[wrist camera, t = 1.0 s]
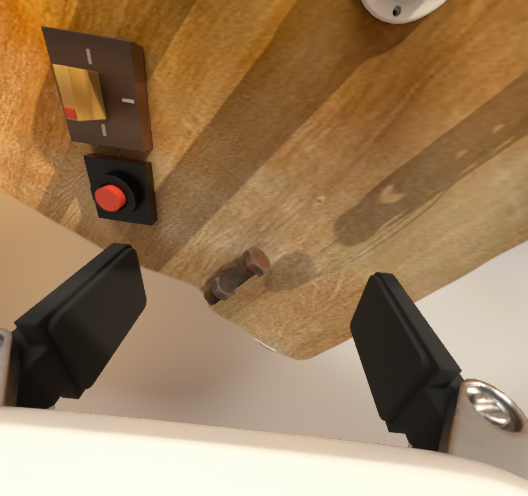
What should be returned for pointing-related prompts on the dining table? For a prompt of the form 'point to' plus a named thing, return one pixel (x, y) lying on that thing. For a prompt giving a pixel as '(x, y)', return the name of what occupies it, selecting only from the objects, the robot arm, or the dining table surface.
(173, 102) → the dining table surface
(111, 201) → the red button
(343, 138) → the dining table surface
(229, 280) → the bolt
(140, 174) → the button box
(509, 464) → the robot arm
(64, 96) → the gold slab
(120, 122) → the plate
